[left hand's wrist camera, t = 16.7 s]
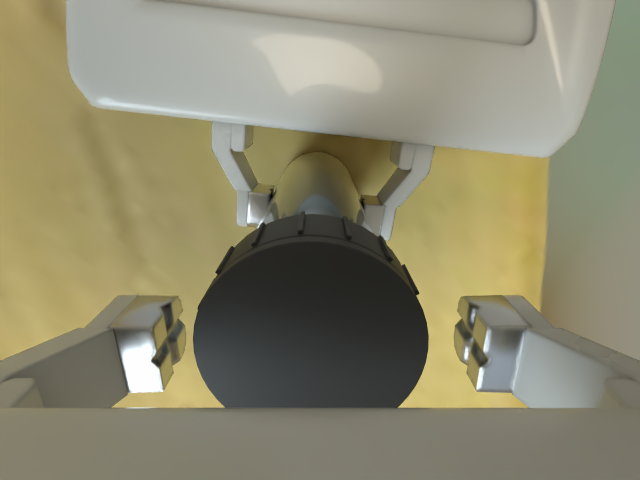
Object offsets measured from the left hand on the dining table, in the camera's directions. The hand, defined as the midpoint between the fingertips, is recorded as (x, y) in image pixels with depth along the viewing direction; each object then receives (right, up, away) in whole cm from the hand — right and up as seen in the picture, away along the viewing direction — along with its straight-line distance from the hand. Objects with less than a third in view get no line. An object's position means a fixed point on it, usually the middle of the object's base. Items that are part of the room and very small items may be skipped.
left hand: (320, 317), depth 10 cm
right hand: (0, +3, +8) cm, 9 cm away
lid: (0, 0, -2) cm, 2 cm away
